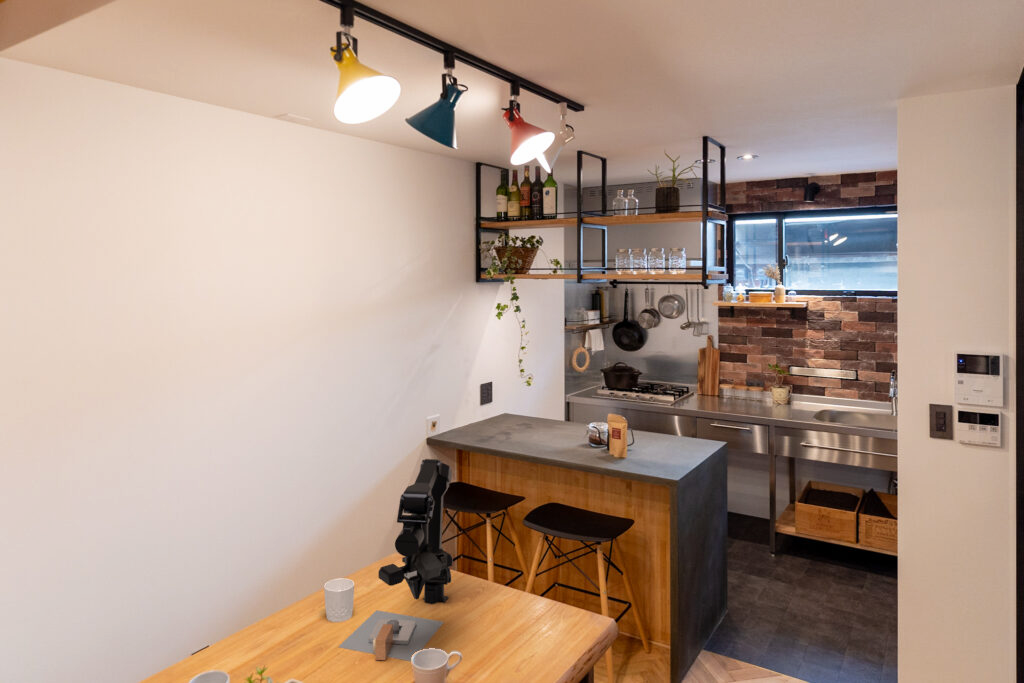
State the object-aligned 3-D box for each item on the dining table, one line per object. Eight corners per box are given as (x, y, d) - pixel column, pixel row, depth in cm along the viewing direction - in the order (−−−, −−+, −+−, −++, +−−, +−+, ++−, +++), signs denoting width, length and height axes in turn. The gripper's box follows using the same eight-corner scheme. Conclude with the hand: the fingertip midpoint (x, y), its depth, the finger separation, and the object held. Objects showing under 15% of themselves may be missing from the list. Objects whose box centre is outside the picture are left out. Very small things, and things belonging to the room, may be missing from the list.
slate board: (376, 614, 188) (376, 599, 188) (443, 626, 183) (444, 611, 182) (338, 651, 169) (337, 635, 169) (411, 666, 163) (412, 649, 163)
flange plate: (378, 622, 181) (379, 604, 181) (416, 624, 180) (416, 606, 180) (359, 658, 164) (359, 638, 163) (400, 661, 163) (401, 641, 163)
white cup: (346, 629, 180) (346, 592, 179) (319, 625, 182) (318, 589, 181) (359, 614, 188) (359, 579, 187) (332, 611, 189) (332, 576, 189)
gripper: (401, 560, 159) (401, 624, 160) (465, 540, 171) (465, 599, 172) (377, 544, 167) (377, 605, 169) (440, 526, 179) (440, 583, 181)
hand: (416, 598), depth 172 cm, fingers closed
